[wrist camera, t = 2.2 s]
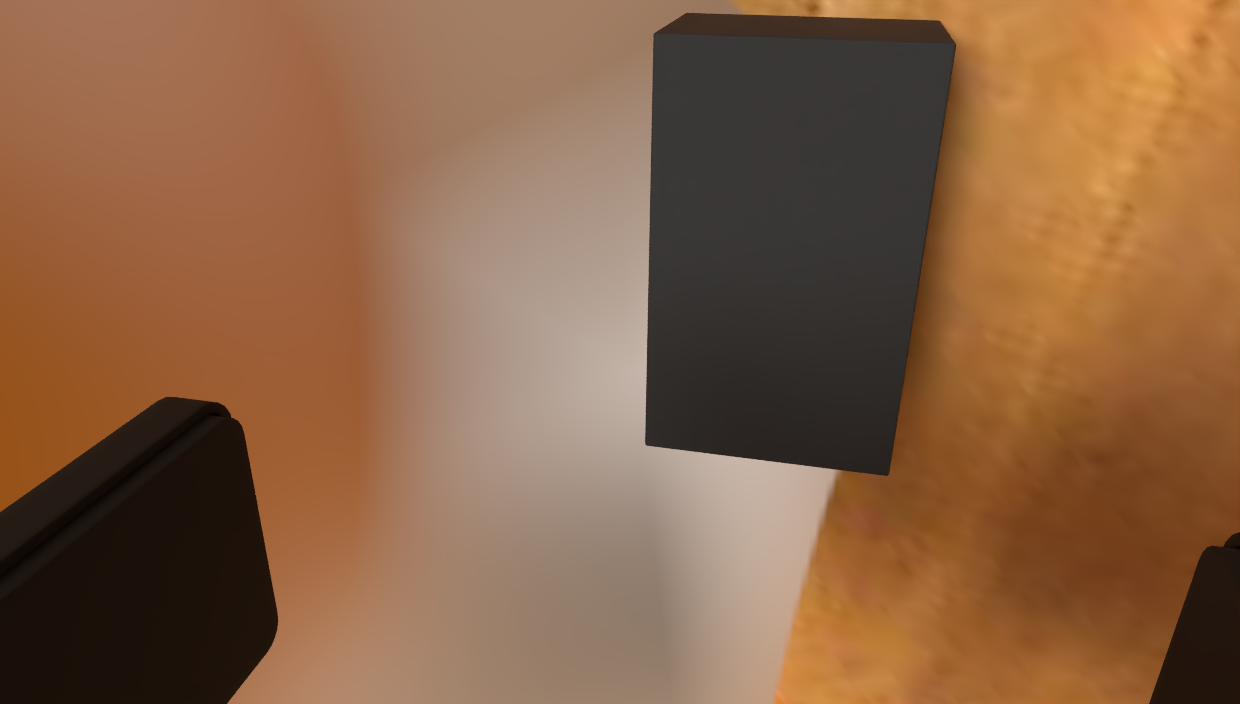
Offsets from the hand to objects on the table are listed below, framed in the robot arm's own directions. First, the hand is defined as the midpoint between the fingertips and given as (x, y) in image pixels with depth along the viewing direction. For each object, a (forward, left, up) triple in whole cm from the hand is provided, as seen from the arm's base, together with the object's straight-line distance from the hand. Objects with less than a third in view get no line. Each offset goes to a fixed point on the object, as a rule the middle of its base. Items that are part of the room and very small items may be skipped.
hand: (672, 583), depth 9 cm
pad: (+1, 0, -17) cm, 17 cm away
